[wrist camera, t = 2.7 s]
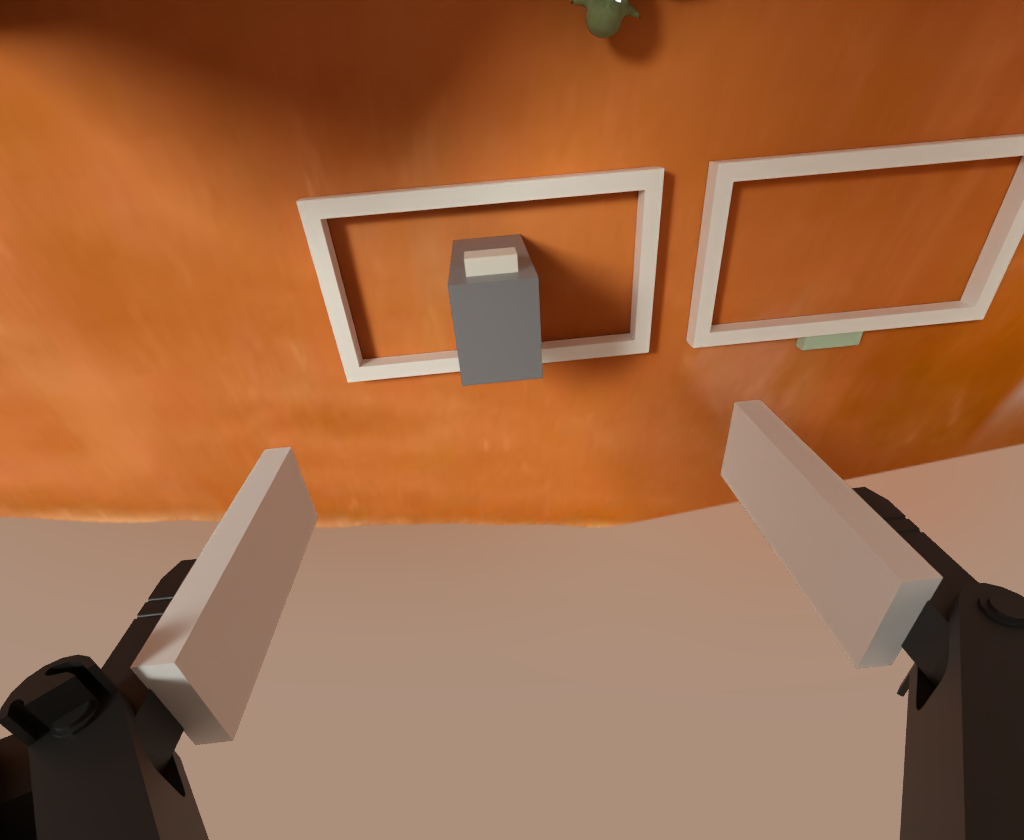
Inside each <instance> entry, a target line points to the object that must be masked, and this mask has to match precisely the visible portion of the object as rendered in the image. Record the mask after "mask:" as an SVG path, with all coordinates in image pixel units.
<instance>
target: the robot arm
mask: <svg viewBox="0 0 1024 840" xmlns="http://www.w3.org/2000/svg"><path fill="white" fill-rule="evenodd" d="M721 476H722V478H723V479H724V480H725V482H726V483H727V485H728V486H729V488H730V489H731V490H732V492H733V493H734V495H735V496H736V498H737V499H738V500H739V502H740V503H741V505H742V506H743V507H744V509H745V510H746V512H747V513H748V515H749V516H750V518H751V519H752V520H753V522H754V523H755V525H756V526H757V527H758V529H759V530H760V532H761V533H762V535H763V536H764V537H765V539H766V540H767V542H768V543H769V545H770V546H771V547H772V549H773V550H774V552H775V553H776V554H777V556H778V557H779V559H780V560H781V562H782V563H783V565H784V566H785V567H786V569H787V570H788V572H789V573H790V575H791V576H792V577H793V579H794V580H795V582H796V583H797V585H798V586H799V587H800V589H801V590H802V592H803V593H804V594H805V596H806V597H807V599H808V600H809V602H810V603H811V604H812V606H813V607H814V609H815V610H816V612H817V613H818V614H819V616H820V617H821V619H822V620H823V622H824V623H825V624H826V626H827V627H828V629H829V630H830V632H831V633H832V634H833V636H834V637H835V639H836V640H837V641H838V643H839V644H840V646H841V647H842V648H843V650H844V651H845V653H846V654H847V656H848V657H849V659H850V660H851V662H852V663H853V664H854V666H855V667H856V669H860V668H869V667H878V666H886V665H892V664H893V662H894V660H895V659H896V657H897V655H898V654H899V652H900V650H901V648H902V647H903V649H904V650H905V651H906V652H907V654H908V655H909V656H910V657H911V659H912V660H913V661H914V662H915V663H914V665H913V666H912V668H911V669H910V671H909V673H908V674H907V676H906V678H905V679H904V681H903V682H902V684H901V685H900V688H899V690H898V692H897V694H899V695H901V696H904V695H905V693H906V692H907V690H908V689H909V694H908V711H907V728H906V745H905V762H904V780H903V795H902V813H901V829H900V830H901V831H900V840H1024V597H1023V596H1021V595H1019V594H1017V593H1015V592H1012V591H1010V590H1008V589H1005V588H1003V587H999V586H995V585H991V584H987V583H979V582H977V581H976V580H975V579H974V578H973V577H972V576H971V575H969V574H968V573H967V572H966V571H965V570H964V569H963V568H962V567H961V566H959V564H957V563H956V562H955V561H954V560H953V559H952V558H951V557H950V556H949V555H948V554H946V553H945V552H944V551H943V550H942V549H941V548H940V547H939V546H938V545H937V544H936V543H934V542H933V541H932V540H931V539H930V538H929V537H928V536H927V535H926V534H925V533H924V532H920V531H919V528H918V527H917V526H916V525H915V524H914V523H913V522H912V521H910V520H909V519H906V518H905V515H904V514H903V513H901V511H899V510H898V509H897V508H896V507H895V506H894V505H893V504H892V503H891V502H890V501H889V500H887V499H885V498H884V497H882V496H880V495H878V494H876V493H875V492H873V491H871V490H869V489H867V488H866V487H860V488H851V487H850V486H848V484H847V483H845V482H844V481H843V480H842V479H841V478H840V477H839V476H838V475H837V474H836V473H835V472H834V471H833V470H832V469H831V468H830V467H829V466H828V465H827V464H826V463H825V462H824V461H823V460H822V459H821V458H820V457H819V456H818V455H817V454H816V453H815V452H814V451H813V450H812V449H811V448H809V447H808V446H807V445H806V444H805V443H804V442H803V441H802V440H801V439H800V438H799V437H798V436H797V435H796V434H795V433H794V432H793V431H792V430H791V429H790V428H789V427H788V426H787V425H786V424H785V423H784V422H783V421H782V420H781V419H780V418H779V417H778V416H777V415H776V414H775V413H773V412H772V411H771V410H770V409H769V408H768V407H767V406H766V405H765V404H764V403H763V402H762V401H761V400H750V401H740V402H735V403H734V409H733V414H732V419H731V424H730V429H729V434H728V439H727V444H726V449H725V454H724V460H723V465H722V470H721ZM317 518H318V516H317V513H316V510H315V508H314V505H313V502H312V500H311V497H310V495H309V492H308V489H307V487H306V484H305V482H304V479H303V476H302V474H301V471H300V469H299V466H298V463H297V461H296V458H295V455H294V453H293V450H292V448H291V447H285V448H275V449H265V450H264V452H263V453H262V455H261V456H260V458H259V460H258V461H257V463H256V465H255V466H254V468H253V469H252V471H251V473H250V474H249V476H248V477H247V479H246V481H245V482H244V484H243V486H242V487H241V489H240V490H239V492H238V494H237V495H236V497H235V499H234V500H233V502H232V503H231V505H230V507H229V508H228V510H227V512H226V513H225V515H224V516H223V518H222V520H221V521H220V523H219V525H218V526H217V528H216V529H215V531H214V533H213V534H212V536H211V538H210V539H209V541H208V542H207V544H206V546H205V547H204V549H203V550H202V552H201V554H200V555H199V557H198V559H194V560H183V561H181V562H180V563H178V564H177V565H176V566H175V567H174V568H173V569H172V570H171V571H170V572H168V573H167V574H166V575H165V576H164V577H163V578H162V579H161V580H160V582H159V583H158V585H157V586H156V588H155V589H154V591H153V592H152V594H151V595H150V597H149V598H148V599H149V601H148V602H146V603H145V604H144V606H143V607H142V609H141V610H140V612H139V613H138V618H137V619H134V621H133V622H132V624H131V625H130V627H129V628H128V630H127V631H126V633H125V634H124V636H123V637H122V639H121V640H120V642H119V643H118V645H117V646H116V648H115V649H114V651H113V652H112V654H111V655H110V657H109V658H108V660H107V661H106V663H105V664H104V666H103V667H102V669H100V668H99V667H98V666H97V664H96V663H95V662H94V661H93V660H92V659H91V658H90V657H88V656H82V655H74V656H69V657H65V658H62V659H59V660H57V661H55V662H52V663H51V664H48V665H46V666H44V667H42V668H41V669H39V670H38V671H36V672H35V673H34V674H32V675H31V676H29V677H28V678H26V679H25V680H24V681H23V682H22V683H21V684H20V685H19V686H18V687H17V688H16V689H15V690H14V691H13V692H12V693H11V694H10V695H9V697H8V698H7V700H6V701H5V703H4V704H3V706H2V707H1V710H0V724H1V725H2V726H4V727H5V728H6V729H7V730H9V731H10V732H11V733H12V734H13V735H10V736H8V737H5V738H3V739H0V840H209V839H208V836H207V833H206V830H205V827H204V825H203V822H202V819H201V816H200V813H199V810H198V807H197V804H196V802H195V799H194V796H193V793H192V790H191V788H190V784H189V782H188V779H187V776H186V773H185V771H184V767H183V764H182V761H181V759H180V757H179V756H178V755H177V753H176V752H175V751H174V750H175V748H176V745H177V743H178V741H179V739H180V737H181V734H182V733H183V731H184V732H185V733H186V734H187V736H188V737H189V738H190V739H191V740H192V741H193V742H194V744H195V745H200V744H208V743H217V742H226V741H233V740H234V737H235V734H236V732H237V729H238V726H239V724H240V721H241V718H242V716H243V713H244V711H245V708H246V705H247V702H248V700H249V697H250V695H251V692H252V690H253V687H254V684H255V682H256V679H257V676H258V674H259V671H260V668H261V666H262V663H263V661H264V658H265V655H266V653H267V650H268V647H269V645H270V642H271V639H272V637H273V634H274V632H275V629H276V626H277V623H278V621H279V618H280V615H281V613H282V611H283V608H284V605H285V603H286V600H287V597H288V595H289V592H290V589H291V587H292V584H293V581H294V579H295V576H296V573H297V571H298V568H299V566H300V563H301V560H302V558H303V555H304V553H305V550H306V547H307V544H308V542H309V539H310V536H311V534H312V531H313V529H314V526H315V524H316V521H317Z"/></svg>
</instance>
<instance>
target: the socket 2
mask: <svg viewBox="0 0 1024 840" xmlns="http://www.w3.org/2000/svg"><path fill="white" fill-rule="evenodd" d="M1014 156H1022V158H1021V161H1020V163H1019V165H1018V168H1017V170H1016V172H1015V175H1014V177H1013V179H1012V181H1011V184H1010V186H1009V188H1008V191H1007V193H1006V195H1005V198H1004V200H1003V202H1002V205H1001V207H1000V209H999V212H998V214H997V216H996V219H995V221H994V223H993V225H992V228H991V230H990V232H989V235H988V237H987V239H986V242H985V244H984V246H983V249H982V251H981V253H980V256H979V258H978V260H977V263H976V265H975V267H974V269H973V272H972V274H971V276H970V279H969V281H968V283H967V286H966V288H965V290H964V293H963V295H962V297H961V300H960V301H952V302H942V303H932V304H921V305H911V306H901V307H891V308H881V309H870V310H860V311H850V312H840V313H830V314H819V315H809V316H799V317H789V318H779V319H769V320H758V321H748V322H738V323H728V324H718V325H711V323H712V316H713V310H714V304H715V297H716V291H717V284H718V278H719V271H720V265H721V259H722V252H723V246H724V239H725V233H726V226H727V220H728V213H729V207H730V201H731V194H732V188H733V182H737V181H748V180H759V179H771V178H782V177H793V176H804V175H815V174H826V173H837V172H848V171H859V170H870V169H881V168H892V167H903V166H914V165H925V164H936V163H947V162H958V161H970V160H981V159H992V158H1003V157H1014ZM1023 233H1024V133H1023V134H1012V135H1001V136H990V137H978V138H967V139H956V140H945V141H934V142H922V143H911V144H900V145H889V146H878V147H866V148H855V149H844V150H833V151H821V152H810V153H799V154H788V155H777V156H765V157H754V158H743V159H732V160H721V161H709V169H708V176H707V184H706V192H705V200H704V208H703V215H702V223H701V231H700V239H699V246H698V254H697V262H696V270H695V277H694V285H693V293H692V301H691V308H690V316H689V324H688V332H687V340H686V341H687V342H688V343H689V344H690V345H691V347H692V348H700V347H710V346H720V345H730V344H740V343H750V342H760V341H770V340H780V339H790V338H798V339H797V343H796V346H797V347H798V348H800V349H801V350H812V349H822V348H832V347H842V346H852V345H859V343H860V340H861V337H862V334H863V331H871V330H881V329H891V328H901V327H911V326H921V325H931V324H941V323H952V322H962V321H972V320H982V319H984V316H985V314H986V312H987V310H988V308H989V306H990V304H991V302H992V299H993V297H994V295H995V293H996V291H997V289H998V287H999V284H1000V282H1001V280H1002V278H1003V276H1004V274H1005V272H1006V269H1007V267H1008V265H1009V263H1010V261H1011V259H1012V257H1013V254H1014V252H1015V250H1016V248H1017V246H1018V244H1019V242H1020V240H1021V237H1022V235H1023Z"/></svg>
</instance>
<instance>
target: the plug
mask: <svg viewBox="0 0 1024 840" xmlns="http://www.w3.org/2000/svg"><path fill="white" fill-rule="evenodd" d="M448 290H449V297H450V304H451V311H452V318H453V325H454V332H455V339H456V346H457V353H458V360H459V367H460V374H461V381H462V386H467V385H477V384H487V383H497V382H507V381H517V380H527V379H537V378H543V372H542V348H541V325H540V302H539V278H538V275H537V273H536V270H535V268H534V266H533V263H532V261H531V258H530V256H529V254H528V251H527V249H526V247H525V244H524V242H523V240H522V237H521V235H520V234H518V235H507V236H496V237H485V238H474V239H463V240H453V247H452V256H451V264H450V272H449V280H448Z"/></svg>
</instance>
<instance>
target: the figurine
mask: <svg viewBox="0 0 1024 840" xmlns="http://www.w3.org/2000/svg"><path fill="white" fill-rule="evenodd" d="M571 4H576V5H583V6H585V7H586V10H587V18H586V23H587V27H588V29H589V31H590V32H591V33H592V34H593V35H594V36H596V37H599V38H607V37H611V36H612V35H614V34H615V33H616V32H617V31H618V30H619V28H620V25H621V22H622V19H623V18H624V17H625V15H630V16H633V17H636V18H640V14H639V13H638V12H637V11H636V10H635V8H634V7H633V6H632V5H631V4H630V3H629V2H628V0H573V1H572V3H571Z"/></svg>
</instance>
